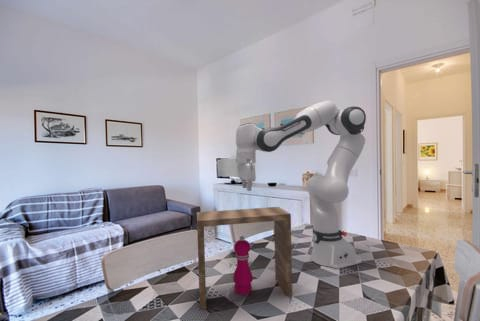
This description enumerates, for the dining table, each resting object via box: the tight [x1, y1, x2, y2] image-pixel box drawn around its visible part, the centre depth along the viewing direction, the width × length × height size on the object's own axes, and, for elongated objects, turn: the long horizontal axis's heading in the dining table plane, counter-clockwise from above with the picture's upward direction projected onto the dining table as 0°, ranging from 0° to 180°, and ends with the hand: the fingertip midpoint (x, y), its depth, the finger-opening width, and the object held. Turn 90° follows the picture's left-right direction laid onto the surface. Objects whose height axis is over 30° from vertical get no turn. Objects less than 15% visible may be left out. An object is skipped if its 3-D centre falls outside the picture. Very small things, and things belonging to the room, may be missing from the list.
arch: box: [196, 206, 293, 310], centre depth 87 cm, size 32×12×29 cm, turn 101°
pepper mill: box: [232, 235, 254, 295], centre depth 89 cm, size 7×7×20 cm
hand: (246, 189), depth 110 cm, fingers open, 8 cm apart
